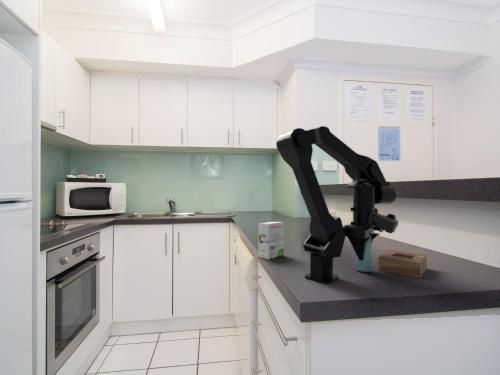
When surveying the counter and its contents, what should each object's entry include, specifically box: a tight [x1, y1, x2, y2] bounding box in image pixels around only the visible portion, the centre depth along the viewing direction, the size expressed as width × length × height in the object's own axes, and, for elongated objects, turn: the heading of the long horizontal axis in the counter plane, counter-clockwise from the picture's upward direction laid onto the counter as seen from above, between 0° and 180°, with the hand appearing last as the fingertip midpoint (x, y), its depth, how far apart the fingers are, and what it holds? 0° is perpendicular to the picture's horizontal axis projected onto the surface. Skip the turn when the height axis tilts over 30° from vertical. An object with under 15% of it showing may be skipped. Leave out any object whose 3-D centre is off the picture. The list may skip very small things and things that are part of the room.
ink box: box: [257, 221, 285, 260], centre depth 88 cm, size 8×5×12 cm, turn 135°
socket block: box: [378, 249, 428, 278], centre depth 74 cm, size 12×10×4 cm
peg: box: [355, 234, 372, 273], centre depth 72 cm, size 4×4×10 cm
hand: (363, 258), depth 72 cm, fingers closed on peg, 4 cm apart
